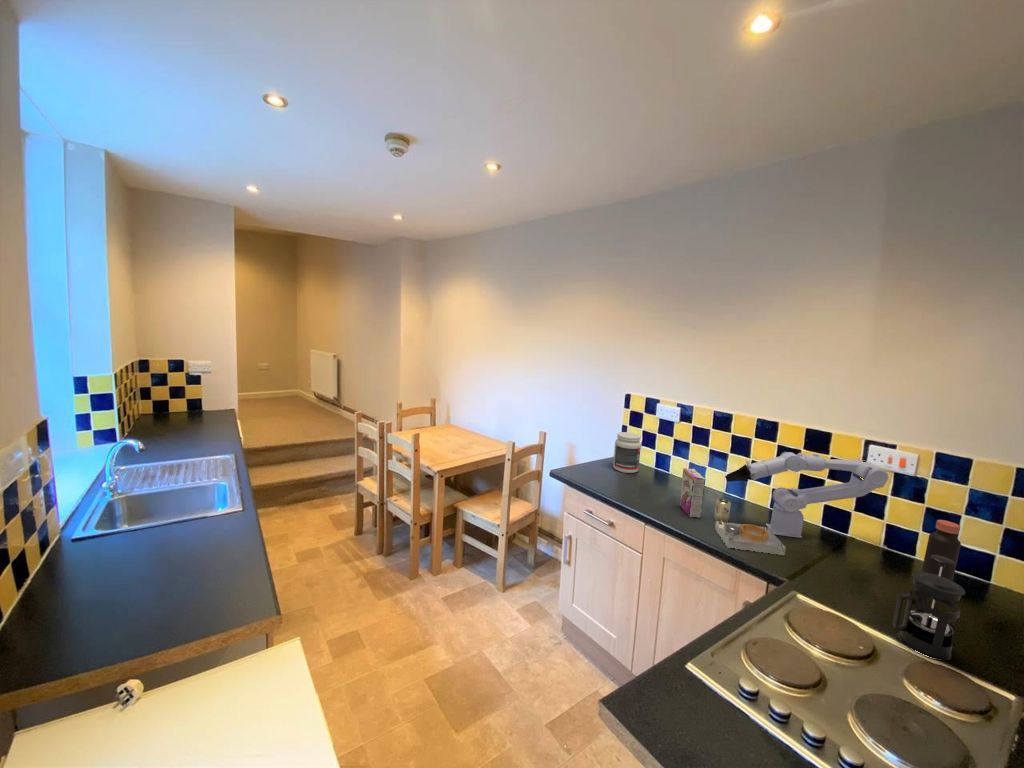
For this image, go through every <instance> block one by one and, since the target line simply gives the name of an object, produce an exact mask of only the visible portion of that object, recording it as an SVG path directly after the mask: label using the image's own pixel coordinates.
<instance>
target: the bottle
mask: <svg viewBox="0 0 1024 768" xmlns="http://www.w3.org/2000/svg"><path fill="white" fill-rule="evenodd" d="M960 529H961V526H960V525H959V524H958V523H955V522H952V521H949V520H944V519H937V520H936V523H935V530H936V531H934V532H931V533H930V534H929V535H928V540H927V545H926V548H925V554H924V558H923V562H922V565H921V566H922V567H921V571H920V572H928V573H932V574H935V575H939V571H940V567H941V566H939V563H940V562H938V561H936V560H934V559H932V558H931V555H939V556H943V557H946V558H948V559H951V560H952V561H954V562H955V563H956V565H947V564H945V567H943V568H942V572H941V576H942V577H944V578H947V579H949V580H951V581H953V582H954V578H955V577H954V575H955V572H956V567H957V563H958V559H959V554H960V551H961V546H962V543H961V540H959V538H957V536H959V534H960Z"/></svg>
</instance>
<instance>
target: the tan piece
mask: <svg viewBox="0 0 1024 768" xmlns="http://www.w3.org/2000/svg"><path fill="white" fill-rule="evenodd" d="M715 502H716V503H715V510H714V517H713V519H714V518H715V519H714V520H715V521H718V522H719V521H721V522H727V523H729V521H730V514H731V513H730V512H731V504H732V502H731V501H730V500H729V499H728V498H725V497H720V498H717V499H716V501H715Z"/></svg>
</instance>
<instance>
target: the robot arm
mask: <svg viewBox="0 0 1024 768" xmlns="http://www.w3.org/2000/svg"><path fill="white" fill-rule="evenodd" d="M863 461H864V460H860V459H837V458H836V459H832V458H831V459H829V458H824V457H823V455H820V454H818V453H814V452H813V453H812V454H803V453H802V452H798V453H797V454H795V453H794V452H791V451H790V452H789V451H788V452H787V451H784V452H781V454H780V456H776V457H771V458H768V459H764V460H760V461H757V462H751V463H750V461H748V460H746V461H745V463H746V464H744V465H742V466H741V467H739V468H738V469H736V470H734V471H732V472H730V473H728V474H727V475H725V476H724V477H725V480H726V482H749V480H750V481H751V480H753V481H756V480H758V479H761V478H766V477H769V476H773V475H778V474H782V473H786V472H789V471H791V472H794V473H798V472H801V471H808V472H810V471H811V472H822V471H824V470H825V469H827V470H837V471H846V472H851V475H850V479H849V481H848V482H844V483H843V482H842V483H836V484H829V485H822V486H817V487H809V488H802V489H800V488H794V487H790V488H786V487H782V486H780V487H777V488H775V489H774V490H773V492H772V499H773V500H774V504H773V506H772V507H773V508H772V514H771V520H770V523H765V525H766V526H765V527H767V528H769V529H770V530H771V532H772V533H773V534H774V535H775V536H777V535H778V536H783V537H790V538H791V537H793V538H799V539H800V538H801V539H802V538H803V536H802V532H803V528H804V527H803V526H804V514H803V512H802V511H801V510H803V509H806V508H807V506H808V505H812V504H819V503H824V502H825V503H826V502H832V501H840V500H847V499H853V498H860V497H864V496H866V495H867V494H869V493H871V492H872V491H874V490H876V489H880V488H884V487H885V485H886V483H887V482H888V480H889V474H888V472H887V471H886V470H885V469H883V468H880V467H878V466H876V465H875V464H873V463H872V462H870V463H868V462H869V461H868V462H863ZM860 477H861V478H863V479H864V480H862V479H861V478H860Z"/></svg>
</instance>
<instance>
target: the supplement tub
mask: <svg viewBox="0 0 1024 768" xmlns="http://www.w3.org/2000/svg"><path fill="white" fill-rule="evenodd" d="M616 437H617V439H615V442H614V451H613V461H612V462H613V463H612V466H613V469H615V470H616V471H618V472H620V473H623V474H624V473H627V474H634V473H636V472H638V471H639V467H640V461H641V460H640V458H641V450H642V449H641V448H642V443H641V435H639V434H638V433H634V432H628V431H621V432H618V433H617V436H616Z"/></svg>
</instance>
